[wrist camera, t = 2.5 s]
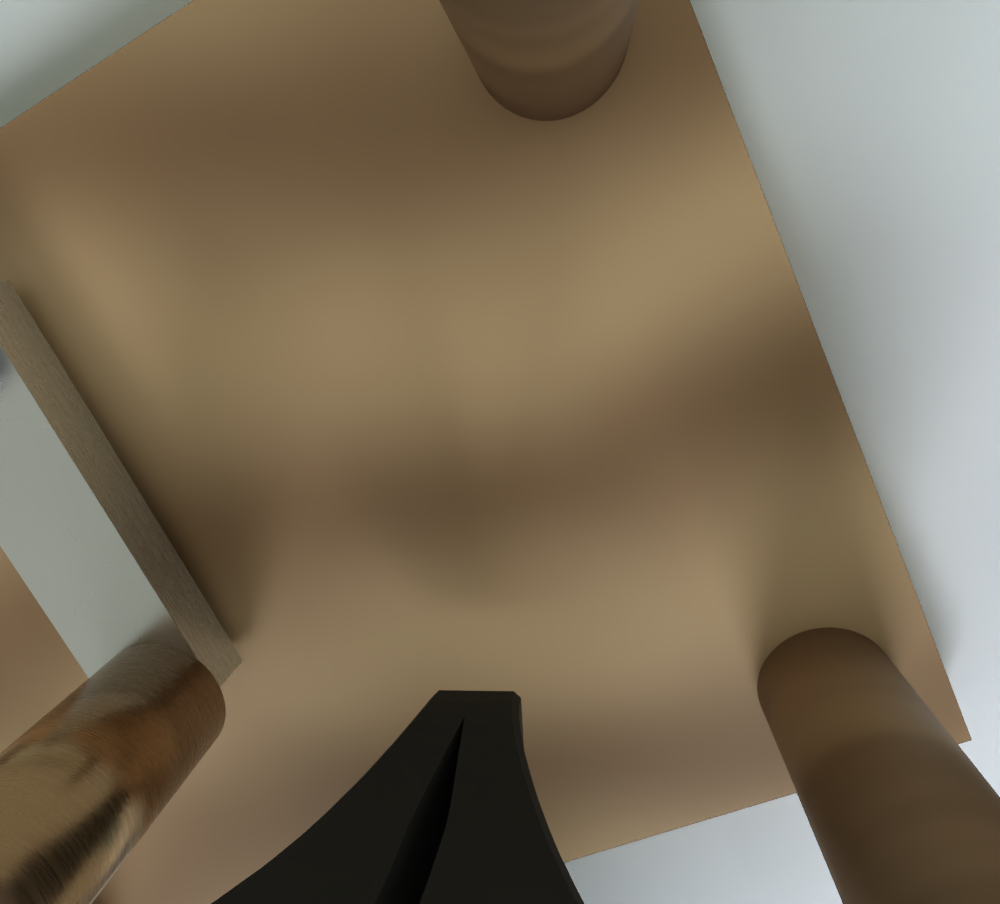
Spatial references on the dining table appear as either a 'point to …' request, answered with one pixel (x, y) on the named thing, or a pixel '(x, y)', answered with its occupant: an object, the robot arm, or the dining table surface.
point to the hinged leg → (93, 638)
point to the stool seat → (479, 432)
